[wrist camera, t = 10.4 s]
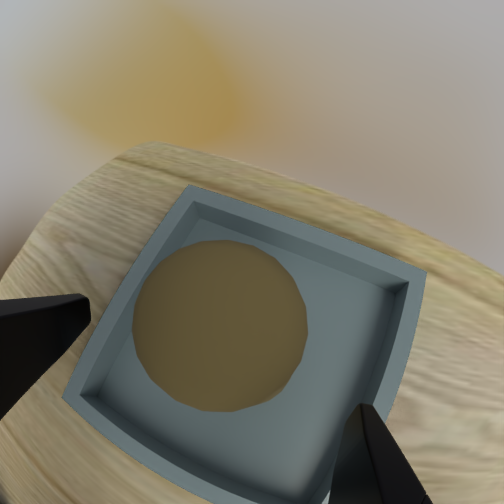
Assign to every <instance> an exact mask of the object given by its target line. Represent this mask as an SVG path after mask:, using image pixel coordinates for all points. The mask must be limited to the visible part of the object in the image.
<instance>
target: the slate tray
mask: <svg viewBox="0 0 504 504" xmlns="http://www.w3.org/2000/svg"><path fill="white" fill-rule="evenodd" d="M212 240H232V241H236V242H241V243H245V244H249V245H254V246H255V247H257V248H259V249H260V250H262V251H264V252H266V253H267V254H269V255H271V256H273V257H274V258H276V259H277V260H278V261H279V263H280V264H281V265H282V266H283V267H284V268H285V269H286V270H287V271H288V272H289V274H290V275H291V276H292V277H293V278H294V280H295V283H296V285H297V287H298V289H299V292H300V294H301V296H302V298H303V301H304V303H305V305H306V312H307V324H308V337H307V341H306V345H305V349H304V352H303V356H302V360H301V362H300V364H299V365H298V367H297V368H296V370H295V371H294V373H293V374H292V376H291V378H290V380H289V382H288V383H287V385H286V386H285V387H284V389H283V390H282V392H280V393H279V394H278V395H276V396H275V397H274V398H272V399H271V400H269V401H267V402H264V403H261V404H258V405H255V406H251V407H248V408H245V409H241V410H238V411H235V412H209V411H201V410H198V409H195V408H193V407H190V406H188V405H185V404H182V403H180V402H178V401H175V400H174V399H173V398H172V397H171V396H169V395H168V394H167V393H166V392H165V391H163V390H162V389H161V388H160V387H159V386H158V385H156V384H155V383H154V382H153V381H152V380H151V379H150V378H149V376H148V374H147V373H146V371H145V369H144V368H143V366H142V364H141V362H140V361H139V359H138V357H137V354H136V350H135V345H134V340H133V335H132V322H133V312H134V305H135V302H136V299H137V297H138V295H139V292H140V290H141V288H142V286H143V283H144V281H145V279H146V278H147V277H148V276H149V274H150V273H151V272H152V271H153V270H154V268H155V267H156V266H157V265H158V264H159V263H160V262H161V261H162V260H164V259H165V258H166V257H168V256H169V255H171V254H172V253H174V252H175V251H177V250H178V249H180V248H183V247H186V246H189V245H192V244H195V243H197V242H200V241H212ZM426 274H427V272H426V271H424V270H422V269H419V268H417V267H415V266H412V265H410V264H408V263H405V262H403V261H400V260H398V259H396V258H393V257H391V256H388V255H386V254H383V253H381V252H378V251H376V250H373V249H371V248H368V247H366V246H363V245H361V244H358V243H356V242H353V241H351V240H348V239H346V238H343V237H340V236H338V235H335V234H332V233H330V232H327V231H324V230H322V229H319V228H316V227H314V226H311V225H308V224H305V223H303V222H300V221H297V220H294V219H292V218H289V217H286V216H283V215H280V214H277V213H275V212H272V211H269V210H266V209H263V208H260V207H257V206H254V205H251V204H248V203H245V202H242V201H239V200H236V199H233V198H230V197H227V196H224V195H221V194H218V193H215V192H211V191H208V190H205V189H202V188H199V187H195V186H192V185H188V186H187V188H186V189H185V190H184V192H183V193H182V194H181V196H180V197H179V198H178V200H177V201H176V202H175V204H174V205H173V206H172V208H171V209H170V211H169V212H168V213H167V215H166V216H165V218H164V219H163V221H162V222H161V223H160V225H159V226H158V228H157V229H156V231H155V232H154V234H153V235H152V236H151V238H150V239H149V241H148V242H147V244H146V245H145V247H144V248H143V250H142V251H141V253H140V255H139V256H138V258H137V259H136V261H135V262H134V264H133V265H132V267H131V269H130V270H129V272H128V273H127V275H126V277H125V278H124V280H123V282H122V283H121V285H120V286H119V288H118V290H117V291H116V293H115V295H114V297H113V298H112V300H111V302H110V303H109V305H108V307H107V309H106V310H105V312H104V314H103V316H102V317H101V319H100V321H99V323H98V325H97V327H96V328H95V330H94V332H93V334H92V336H91V338H90V340H89V342H88V343H87V345H86V347H85V349H84V351H83V353H82V355H81V357H80V359H79V361H78V363H77V365H76V367H75V369H74V372H73V374H72V376H71V378H70V380H69V382H68V384H67V387H66V389H65V391H64V393H63V396H62V398H63V399H64V400H65V401H66V402H67V403H68V404H69V405H70V406H71V407H72V408H73V409H74V410H75V411H76V412H77V413H78V414H79V415H80V416H81V417H82V418H84V419H85V420H86V421H87V422H88V423H89V424H90V425H91V426H93V427H94V428H95V429H96V430H97V431H99V432H100V433H101V434H102V435H103V436H105V437H106V438H107V439H108V440H110V441H111V442H112V443H113V444H115V445H116V446H117V447H119V448H120V449H121V450H123V451H124V452H126V453H127V454H128V455H130V456H131V457H133V458H134V459H135V460H137V461H138V462H140V463H141V464H143V465H144V466H146V467H147V468H149V469H151V470H152V471H154V472H155V473H157V474H159V475H160V476H162V477H164V478H165V479H167V480H169V481H170V482H172V483H174V484H176V485H178V486H179V487H181V488H183V489H185V490H187V491H189V492H191V493H193V494H195V495H197V496H199V497H201V498H203V499H205V500H207V501H209V502H211V503H214V504H328V501H329V495H330V489H331V483H332V476H333V471H334V466H335V462H336V458H337V455H338V451H339V447H340V442H341V438H342V434H343V429H344V425H345V423H346V420H347V419H348V417H349V416H350V415H351V413H352V412H353V410H354V409H355V407H356V406H357V405H358V404H359V403H366V404H371V405H373V406H374V407H375V409H376V411H377V412H378V414H379V415H380V417H381V419H382V420H383V422H384V423H385V422H386V420H387V417H388V415H389V412H390V410H391V407H392V405H393V402H394V399H395V397H396V394H397V391H398V388H399V385H400V382H401V379H402V376H403V373H404V370H405V367H406V363H407V360H408V357H409V353H410V350H411V346H412V342H413V338H414V334H415V330H416V326H417V322H418V318H419V313H420V308H421V303H422V298H423V293H424V287H425V281H426Z"/></svg>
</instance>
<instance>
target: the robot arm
mask: <svg viewBox="0 0 504 504" xmlns="http://www.w3.org/2000/svg"><path fill="white" fill-rule="evenodd" d="M90 321H91V312H90V302H89V299H88V298H87V297H85V296H84V295H82V294H79V293H78V294H67V295H56V296H45V297H33V298H21V299H8V300H0V420H1V419H2V418H3V417H4V416H5V415H6V413H7V412H8V411H9V410H10V409H11V408H12V407H13V406H14V405H15V404H16V402H17V401H18V400H19V399H20V398H21V397H22V396H23V395H24V394H25V393H26V392H27V391H28V390H29V389H30V387H31V386H32V385H33V384H34V383H35V382H36V381H37V380H38V379H39V378H40V377H41V376H42V375H43V374H44V373H45V372H46V371H47V370H48V369H49V368H50V367H51V366H52V365H53V364H54V363H55V362H56V361H57V360H58V359H59V358H60V357H61V356H62V355H63V354H64V353H65V352H66V351H67V350H68V348H69V347H70V346H71V345H72V344H73V342H74V341H75V340H76V339H77V338H78V336H79V335H80V334H81V333H82V332H83V331H84V329H85V328H86V327H87V326H88V325H89V323H90ZM328 504H433V503H432V501H431V500H430V498H429V496H428V495H427V494H426V491H425V490H424V488H423V486H422V484H421V483H420V481H419V479H418V478H417V476H416V474H415V473H414V471H413V469H412V468H411V466H410V464H409V463H408V461H407V459H406V458H405V456H404V454H403V453H402V451H401V449H400V448H399V446H398V445H397V443H396V441H395V440H394V438H393V436H392V435H391V433H390V432H389V430H388V428H387V427H386V425H385V423H384V422H383V420H382V419H381V417H380V415H379V414H378V412H377V411H376V409H375V407H374V406H373V405H371V404H366V403H359V404H358V405H357V406H356V407H355V409H354V410H353V412H352V413H351V415H350V416H349V417H348V419H347V420H346V423H345V425H344V429H343V434H342V438H341V442H340V447H339V451H338V455H337V458H336V462H335V466H334V471H333V476H332V483H331V489H330V495H329V501H328Z"/></svg>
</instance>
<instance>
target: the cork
mask: <svg viewBox="0 0 504 504" xmlns="http://www.w3.org/2000/svg"><path fill="white" fill-rule="evenodd" d="M132 335H133V340H134V345H135V350H136V354H137V357H138V359H139V361H140V362H141V364H142V366H143V368H144V369H145V371H146V373H147V374H148V376H149V378H150V379H151V380H152V381H153V382H154V383H155V384H156V385H158V386H159V387H160V388H161V389H162V390H163V391H165V392H166V393H167V394H168V395H169V396H171V397H172V398H173V399H174V400H175V401H178V402H180V403H182V404H185V405H188V406H190V407H193V408H195V409H198V410H201V411H209V412H235V411H238V410H241V409H245V408H248V407H251V406H255V405H258V404H261V403H264V402H267V401H269V400H271V399H272V398H274V397H275V396H276V395H278V394H279V393H280V392H282V390H283V389H284V387H285V386H286V385H287V383H288V382H289V380H290V378H291V376H292V374H293V373H294V371H295V370H296V368H297V367H298V365H299V364H300V362H301V360H302V356H303V352H304V349H305V345H306V341H307V337H308V324H307V312H306V305H305V303H304V301H303V298H302V296H301V294H300V292H299V289H298V287H297V285H296V283H295V280H294V278H293V277H292V276H291V275H290V274H289V272H288V271H287V270H286V269H285V268H284V267H283V266H282V265H281V264H280V263H279V261H278V260H277V259H276V258H274V257H273V256H271V255H269V254H267V253H266V252H264V251H262V250H260V249H259V248H257V247H255V246H254V245H249V244H245V243H241V242H236V241H232V240H212V241H200V242H197V243H195V244H192V245H189V246H186V247H183V248H180V249H178V250H177V251H175V252H174V253H172V254H171V255H169V256H168V257H166V258H165V259H164V260H162V261H161V262H160V263H159V264H158V265H157V266H156V267H155V268H154V270H153V271H152V272H151V273H150V274H149V276H148V277H147V278H146V279H145V281H144V283H143V286H142V288H141V290H140V292H139V295H138V297H137V299H136V302H135V305H134V312H133V322H132Z"/></svg>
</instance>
